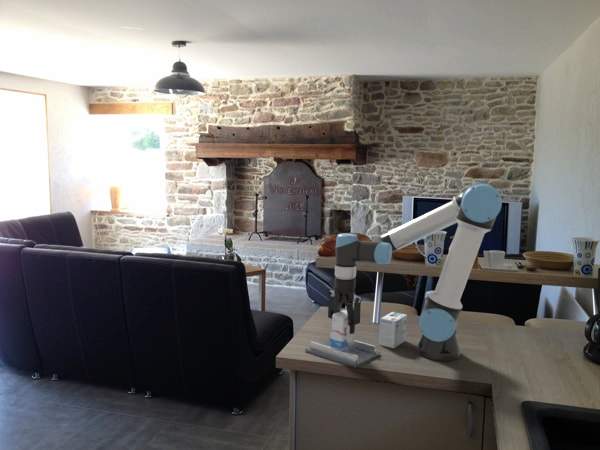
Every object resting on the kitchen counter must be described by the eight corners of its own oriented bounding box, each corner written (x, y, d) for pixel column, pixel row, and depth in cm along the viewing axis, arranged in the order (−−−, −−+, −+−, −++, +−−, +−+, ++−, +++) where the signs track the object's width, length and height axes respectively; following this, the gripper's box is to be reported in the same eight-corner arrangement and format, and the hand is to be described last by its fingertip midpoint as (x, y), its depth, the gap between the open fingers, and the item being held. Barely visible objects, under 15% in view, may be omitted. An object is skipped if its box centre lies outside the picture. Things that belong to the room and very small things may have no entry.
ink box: (342, 349, 186) (343, 317, 184) (330, 346, 189) (331, 314, 187) (355, 343, 193) (356, 311, 191) (343, 340, 196) (344, 309, 194)
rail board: (380, 354, 190) (380, 345, 190) (355, 368, 178) (356, 358, 178) (331, 340, 204) (331, 331, 204) (305, 351, 192) (305, 342, 192)
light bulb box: (390, 337, 209) (391, 311, 208) (406, 341, 205) (407, 314, 204) (378, 345, 201) (379, 317, 199) (394, 349, 197) (395, 321, 195)
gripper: (372, 279, 185) (369, 343, 188) (331, 271, 196) (329, 331, 199) (360, 283, 179) (358, 349, 182) (318, 274, 190) (316, 336, 193)
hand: (342, 339), depth 191 cm, fingers closed on ink box, 5 cm apart
